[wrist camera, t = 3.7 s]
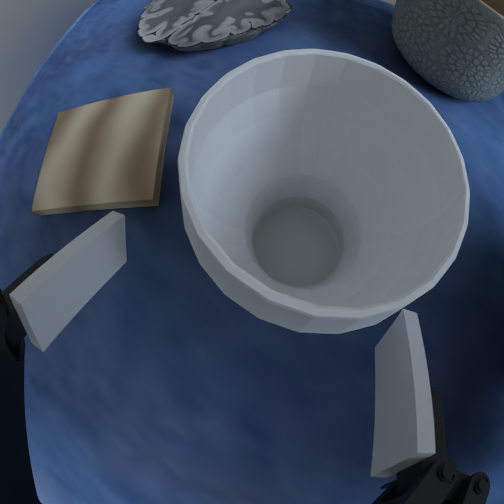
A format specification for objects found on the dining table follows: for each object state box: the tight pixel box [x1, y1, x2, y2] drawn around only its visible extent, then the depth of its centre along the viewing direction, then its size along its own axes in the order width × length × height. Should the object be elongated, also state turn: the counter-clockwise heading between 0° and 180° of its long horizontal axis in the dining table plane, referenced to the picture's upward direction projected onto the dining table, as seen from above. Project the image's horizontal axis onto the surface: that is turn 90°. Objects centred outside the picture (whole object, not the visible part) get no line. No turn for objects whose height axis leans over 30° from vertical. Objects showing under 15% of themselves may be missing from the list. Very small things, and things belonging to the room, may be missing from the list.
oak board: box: [32, 88, 174, 216], centre depth 25 cm, size 14×12×2 cm
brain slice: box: [138, 0, 291, 52], centre depth 28 cm, size 20×17×3 cm
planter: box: [392, 0, 504, 102], centre depth 19 cm, size 17×17×15 cm
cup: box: [178, 49, 470, 334], centre depth 15 cm, size 11×11×15 cm
